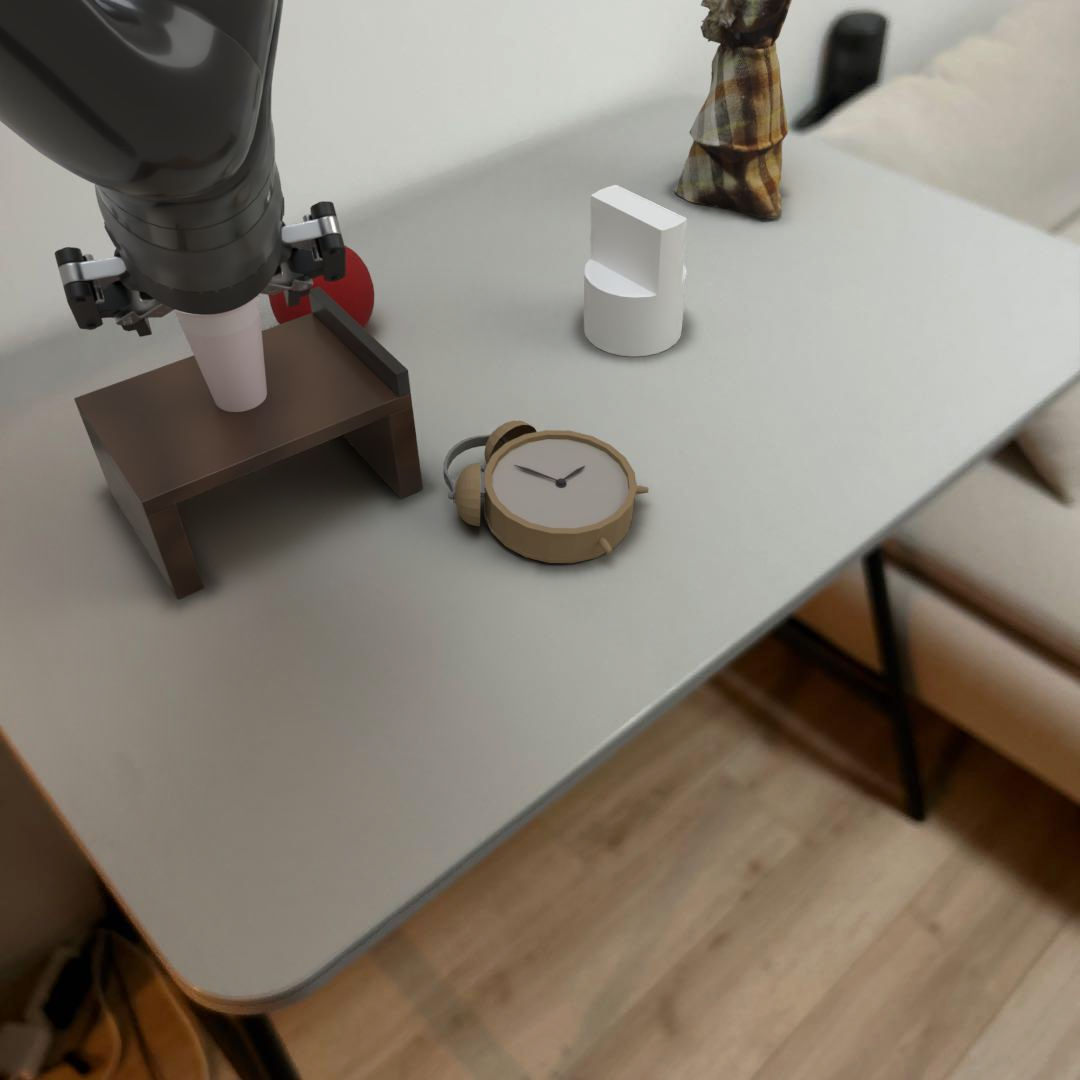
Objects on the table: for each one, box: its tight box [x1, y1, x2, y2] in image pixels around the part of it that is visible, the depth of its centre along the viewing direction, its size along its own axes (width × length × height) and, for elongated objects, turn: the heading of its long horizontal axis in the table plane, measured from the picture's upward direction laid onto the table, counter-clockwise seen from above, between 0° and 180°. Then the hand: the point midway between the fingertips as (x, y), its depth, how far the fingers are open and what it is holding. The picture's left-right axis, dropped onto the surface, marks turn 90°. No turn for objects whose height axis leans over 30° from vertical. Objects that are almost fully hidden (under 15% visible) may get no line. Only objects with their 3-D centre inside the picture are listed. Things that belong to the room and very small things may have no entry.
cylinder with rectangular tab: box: [583, 184, 688, 357], centre depth 96 cm, size 9×9×12 cm
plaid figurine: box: [673, 0, 793, 219], centre depth 111 cm, size 14×14×25 cm
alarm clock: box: [442, 420, 649, 564], centre depth 81 cm, size 11×5×15 cm
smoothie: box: [173, 295, 267, 412], centre depth 73 cm, size 6×6×14 cm
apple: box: [268, 245, 375, 329], centre depth 97 cm, size 9×9×10 cm
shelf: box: [73, 287, 424, 600], centre depth 80 cm, size 20×14×11 cm
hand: (216, 304), depth 63 cm, fingers open, 8 cm apart
